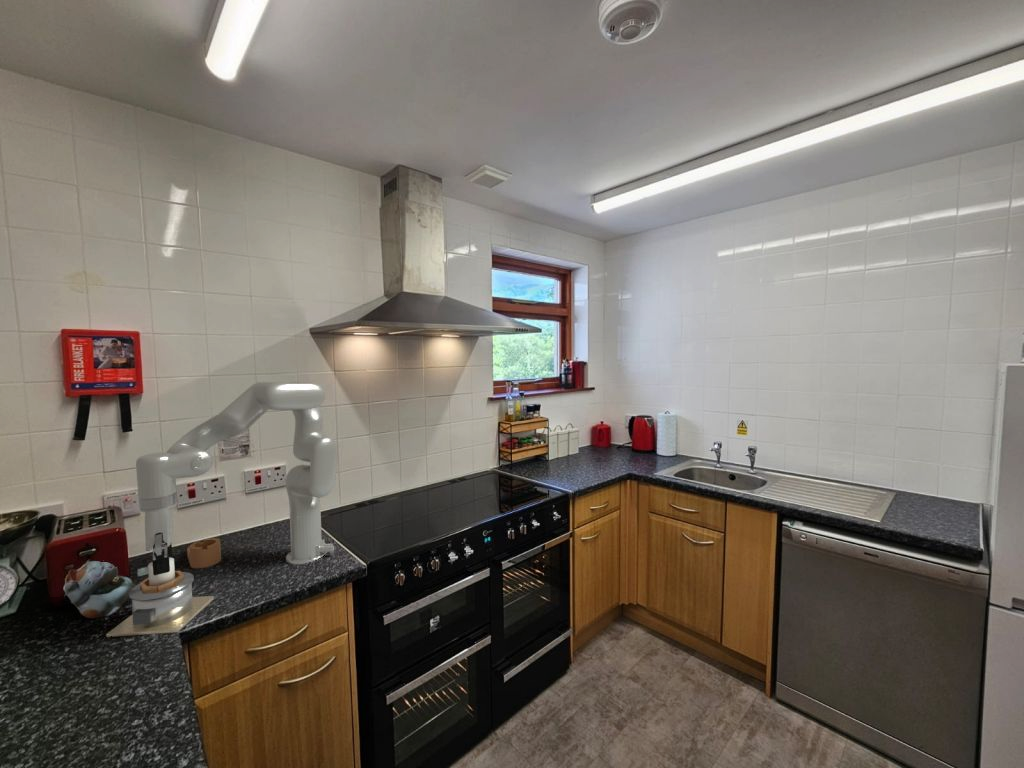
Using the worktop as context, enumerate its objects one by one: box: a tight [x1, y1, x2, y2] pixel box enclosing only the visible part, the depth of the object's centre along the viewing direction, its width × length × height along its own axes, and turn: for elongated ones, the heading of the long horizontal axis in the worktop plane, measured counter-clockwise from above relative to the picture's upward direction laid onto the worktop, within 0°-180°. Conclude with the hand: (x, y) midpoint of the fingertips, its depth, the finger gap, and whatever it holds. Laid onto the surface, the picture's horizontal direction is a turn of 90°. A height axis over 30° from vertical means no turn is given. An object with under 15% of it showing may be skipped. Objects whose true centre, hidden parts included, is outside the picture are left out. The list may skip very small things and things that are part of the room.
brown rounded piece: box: [186, 537, 222, 569], centre depth 145 cm, size 18×8×7 cm, turn 42°
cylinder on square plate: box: [105, 570, 215, 638], centre depth 111 cm, size 16×15×10 cm
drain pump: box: [137, 557, 176, 586], centre depth 110 cm, size 7×5×7 cm
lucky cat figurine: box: [63, 558, 135, 619], centre depth 115 cm, size 15×12×14 cm
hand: (163, 565), depth 111 cm, fingers open, 9 cm apart
